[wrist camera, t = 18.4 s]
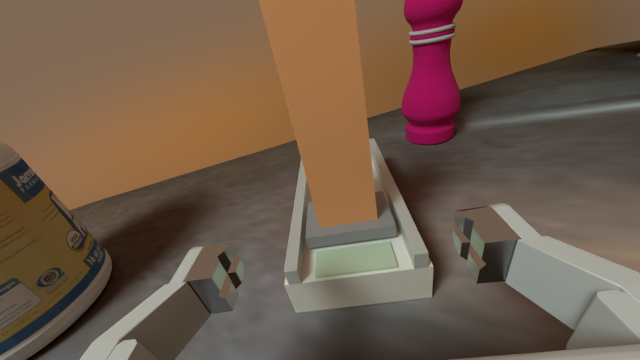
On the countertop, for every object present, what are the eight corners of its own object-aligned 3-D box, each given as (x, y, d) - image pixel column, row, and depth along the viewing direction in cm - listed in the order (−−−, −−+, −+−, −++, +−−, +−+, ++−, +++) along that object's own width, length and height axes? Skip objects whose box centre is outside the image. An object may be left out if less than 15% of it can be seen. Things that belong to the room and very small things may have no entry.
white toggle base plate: (431, 297, 16) (434, 252, 14) (296, 313, 17) (278, 272, 15) (379, 169, 31) (376, 138, 28) (307, 181, 32) (299, 152, 29)
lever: (396, 236, 17) (379, -53, 9) (308, 248, 17) (226, -13, 10) (383, 201, 20) (363, -31, 13) (310, 212, 21) (250, -2, 13)
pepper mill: (394, 134, 39) (385, -30, 29) (438, 122, 39) (445, -43, 29) (418, 151, 32) (418, -49, 22) (470, 137, 33) (493, -66, 23)
